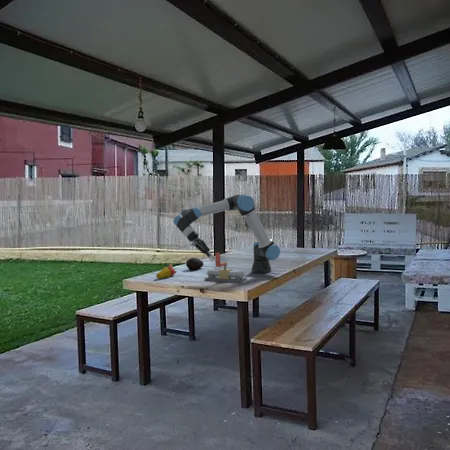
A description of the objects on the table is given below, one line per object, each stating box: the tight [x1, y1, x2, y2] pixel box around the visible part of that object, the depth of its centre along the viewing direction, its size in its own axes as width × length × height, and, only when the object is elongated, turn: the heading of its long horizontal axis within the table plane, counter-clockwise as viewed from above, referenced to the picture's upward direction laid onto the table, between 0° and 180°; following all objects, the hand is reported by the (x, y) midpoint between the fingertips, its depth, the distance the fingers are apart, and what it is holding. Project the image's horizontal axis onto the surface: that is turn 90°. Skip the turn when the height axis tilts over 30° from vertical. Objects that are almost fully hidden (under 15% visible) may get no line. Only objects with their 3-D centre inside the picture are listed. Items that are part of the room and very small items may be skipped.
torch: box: [155, 262, 177, 279], centre depth 353 cm, size 8×8×25 cm
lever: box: [214, 252, 229, 268], centre depth 330 cm, size 15×3×9 cm, turn 156°
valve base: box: [204, 264, 247, 284], centre depth 336 cm, size 12×26×11 cm, turn 66°
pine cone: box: [185, 257, 205, 272], centre depth 390 cm, size 10×18×10 cm, turn 159°
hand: (213, 259), depth 325 cm, fingers closed
